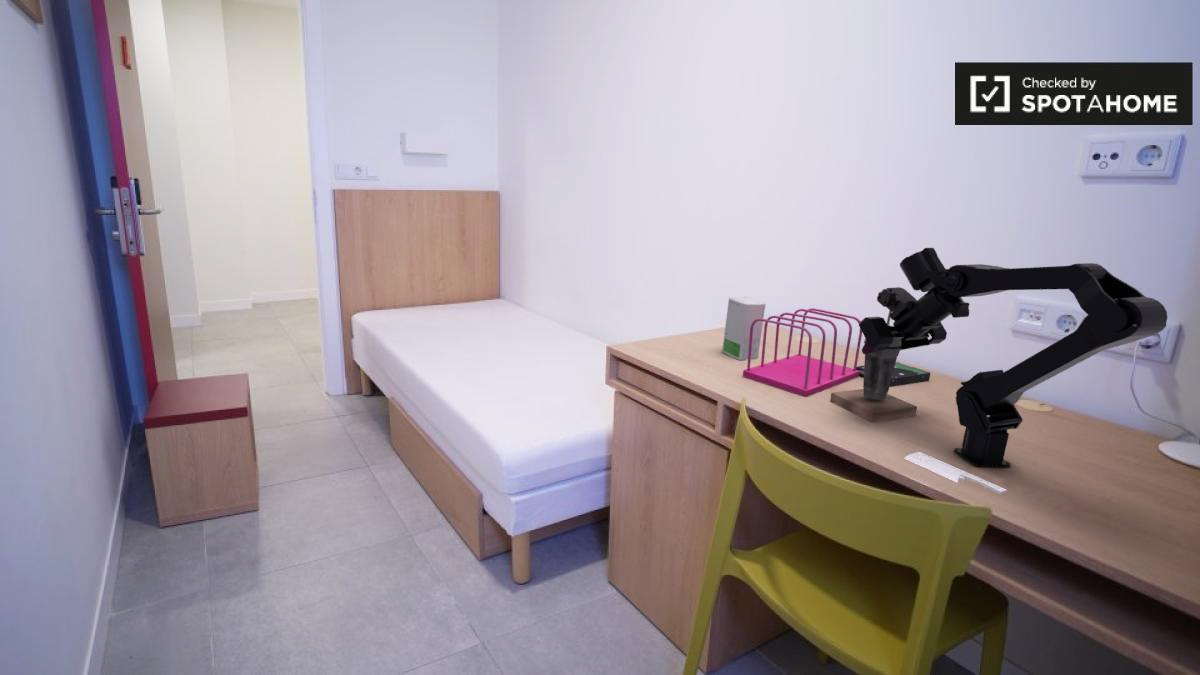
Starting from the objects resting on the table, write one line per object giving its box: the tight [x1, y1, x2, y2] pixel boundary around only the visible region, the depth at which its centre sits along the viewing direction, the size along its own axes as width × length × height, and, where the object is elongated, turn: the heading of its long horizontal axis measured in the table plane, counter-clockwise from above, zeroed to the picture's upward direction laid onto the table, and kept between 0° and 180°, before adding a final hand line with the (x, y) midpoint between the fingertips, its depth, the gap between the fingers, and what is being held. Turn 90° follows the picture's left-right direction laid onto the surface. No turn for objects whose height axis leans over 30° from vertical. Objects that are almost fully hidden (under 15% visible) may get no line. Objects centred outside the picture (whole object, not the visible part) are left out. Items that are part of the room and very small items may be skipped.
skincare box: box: [721, 296, 766, 361], centre depth 164 cm, size 8×7×16 cm
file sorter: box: [742, 308, 863, 397], centre depth 148 cm, size 17×25×16 cm
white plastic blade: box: [904, 451, 1008, 495], centre depth 102 cm, size 5×15×1 cm, turn 28°
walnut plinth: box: [830, 388, 918, 423], centre depth 130 cm, size 12×12×2 cm
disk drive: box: [856, 361, 931, 388], centre depth 152 cm, size 10×3×15 cm
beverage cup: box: [862, 309, 902, 400], centre depth 127 cm, size 7×7×20 cm
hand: (876, 351), depth 129 cm, fingers closed on beverage cup, 7 cm apart
